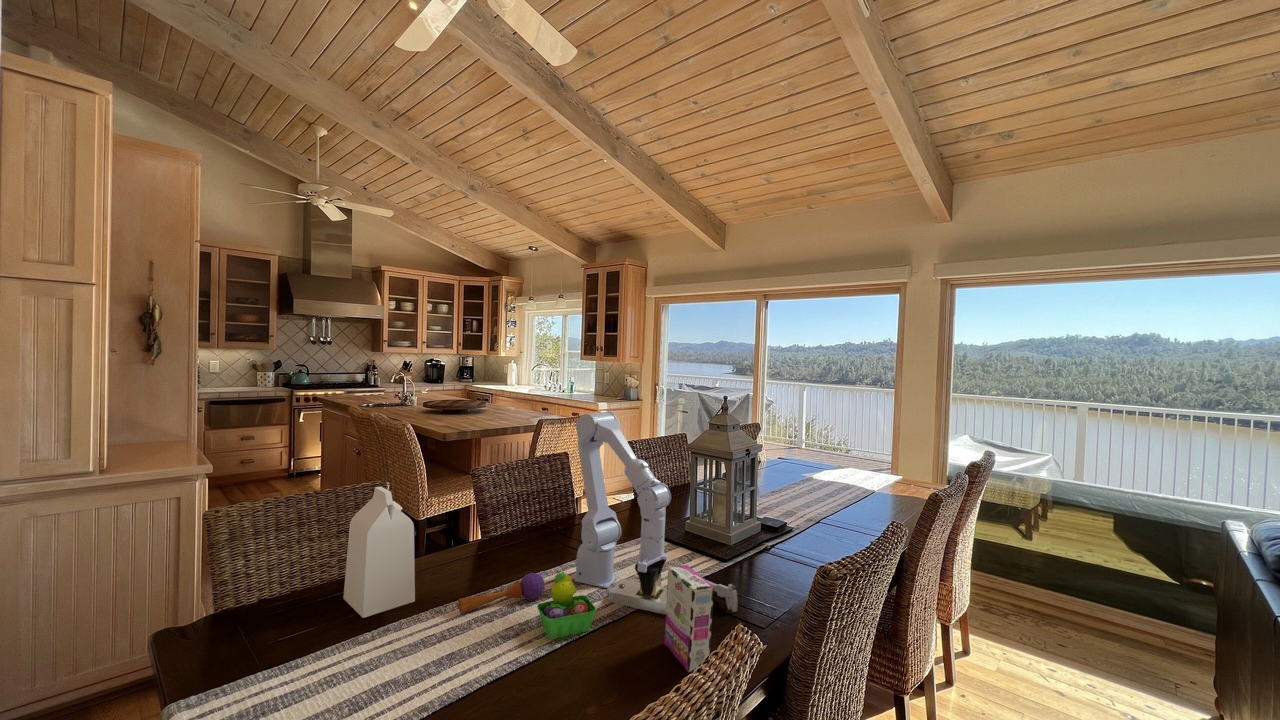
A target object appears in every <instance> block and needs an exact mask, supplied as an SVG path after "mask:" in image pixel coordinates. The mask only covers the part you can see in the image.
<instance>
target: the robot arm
mask: <svg viewBox="0 0 1280 720" xmlns="http://www.w3.org/2000/svg"><path fill="white" fill-rule="evenodd" d="M575 427H576V428H575V429H576V434H577V450H578V454H579V455H578V456H579V460H580V461H579V462H580V468H581V474H582V481H583V487H584V493H585V499H586V500H585V501H586V507H587V512H586V514H585V515H584V516H583V517H582V520H581V533H580V536H581V541H582V543H581V544H580V545H579V547H578V549H577V553H576V562H575V563H576V564H575V578H574V579H573V580H574V582H575V583H576V582H577V583H579V584H585V585H591V586H594V587H599V588H603V589H608V588H609V587H610V586H611V585H612V584H613V583H614V582H615V581H616V580H617V579H618V578H619V574H617V573H614V566H615V565H614V564H615V562H614V561H615V546H616V545H617V541H619V539H620V538H621V536H622V527H621V524H620V522H619V520H618V517H617V513H616V511H614V510H613V509H612V508H610V507H609V502H608V495H607V490H606V483H605V478H604V477H605V476H604V470H603V466H602V459H601V454H600V448H601V446H602V445H603V444H604V443H607V444H608V446H609V447H610V449H611V450H612V451H613V452H614V454H616V456H617V458H619V460H620V461H621V463H622V464H623V465H624V474H625V476H626V478H627V480H628V482H629V483H630V484H631V485H632V487H633V489H634V490H635V491H636V493H637V495H638V496H637V497H636V498H637V500H636V501H637V504H638V506H639V510H640V516H641V525H640V526H641V528H640V542H639V543H640V547H639V548H640V549H639V552H638V562H636V563H635V565H634V570H635V572H636V574H637V576H638V578H639V582H640V583H641V589H642V593H643V594H645V595H651V594H652V591H653V585H654V580H655V577H656V574H661V573H662V571H663V568H664V565H665V563H666V561H668V558H669V554H668V553H666V552H665V535H666V533H665V532H666V531H665V530H666V529H665V528H666V514H667V513H666V509H667V506H669V505H670V503H671V500H672V494H671V490H670V488H669V487H668V485H667V484H665V483H663V482H661V481H660V480H658V479H657V478H656V477H655V475H654V474H653V472H652V470H651V469H650V468H649V464H648V463H647V461H645V460H643V459H642V458H641V459H640V458H637V456H636V455H635V453H634V451H633V449H632V447H631V446H630V444H629V443H628V441H627V439H626V437H625V435H624V434H623V432H622V430H621V422H620V420H619V419H618V418H617V415H616V414H615V413H614V412H612V411H604V412H596V413H583V414H582V415H580V417H579V418H578V420H577V422H576V423H575ZM661 575H662V574H661Z"/></svg>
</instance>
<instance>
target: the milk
mask: <svg viewBox="0 0 1280 720" xmlns="http://www.w3.org/2000/svg"><path fill="white" fill-rule="evenodd" d="M402 510H403V507H402V506H401V505H400V504H399V503H397V502H396V501H394V500H393V495H392V491H390V490H388V489H386V488H385V487H383V486H376V487H374V491H373V496H372V498H371V499H370V500H369V501H368V502H366V504H365V505H363V507H362V508H360V509H359V510H358V512H357V511H356V513H355V514H354V515H353V517H352V518H351V520H350V522H349V528H348V529H349V532H348V543H347V550H346V551H347V553H346V554H347V555H346V563H345V565H346V567H345V575H344V576H345V577H344V588H343V600H344V601H345V602H346V603H347V604H348V605H349V606H350V607H351V609H352V608H353V609H354V611H355V612H356V613H357V614H358V615H360V617H362V618H363V619H364V618H367V617H370V616H373V615H377V614H379V613H383V612H385V611H389V610H392V609H396V608H398V607H401V606H404V605H408V604H411V603H414V602H415V601H416V586H415V583H416V581H415V580H416V578H415V576H416V574H415V573H416V572H415V526H414V522H413V521H412V519H411V518H410V517H409V516H408V515H407V514H405V513H404V512H403V511H402Z"/></svg>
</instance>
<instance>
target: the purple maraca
mask: <svg viewBox="0 0 1280 720" xmlns="http://www.w3.org/2000/svg"><path fill="white" fill-rule="evenodd" d="M544 590H545V581H544V578H543V577H542V576H541V575H540V574H539V573H538V572H529V573H526V574H525V575H524V576H523V577H521V580H520V581H519V580H516V581H515V582H514V583H513V584H511V585H510V586H509V587H508V588H507V589H505V590H504V591H499V592H494V593H487V594H482V595H481V594H480V595H475V596H469V597H468V596H467V597H463V598H459V599H458V601H457V602H458V603H457V605H458V610H459V611H458V612H459V613H460V615H463V614H466V613H469V612H471V611H473V610H475V609H478V608H480V607H482V606H483V607H484V606H485V605H488V604H489V603H493V602H495V601H497V600H500V599H502V598H504V597H505V598H513V599H519V600H521V599H522V598H523V597H524V599H525V600H531V599H532V600H536V599H538V598H539V597H540V596H542V594H543V592H544Z"/></svg>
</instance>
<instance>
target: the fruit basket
mask: <svg viewBox="0 0 1280 720" xmlns="http://www.w3.org/2000/svg"><path fill="white" fill-rule="evenodd" d="M576 593H577V588H576V586H575V583H574V582H573V581H572V578H571V577H570V575H569V574H567V573H565V572H564V571H561V572H558V573H557V574H555V577H554V583H553V585H552V587H551V593H550V595H551V598H552V600H550V601H545V602H541V603H538V604H537V610H538V612H539V616H540V621H541V626H542V629H543V630H544V632H545V634H546V635H547V637H548V639H549V640H554V639H555V640H556V639H558V638H564V636H565V637H567V636H573V635H577V634H581V633H586V632H589V631H590V629H591V626H592V623H593V619H594V616H595V615H596V612H597V610H598V609H597V607H596V606H595V605H594V604H593V602H592V601H591V600H590V599H589V598H588V596H587V595H583V594H581V595H576V596H574V595H575V594H576Z"/></svg>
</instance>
